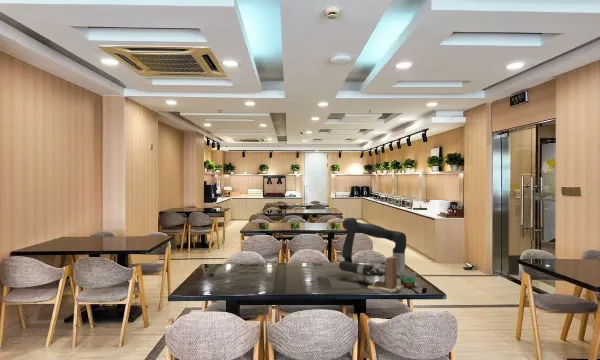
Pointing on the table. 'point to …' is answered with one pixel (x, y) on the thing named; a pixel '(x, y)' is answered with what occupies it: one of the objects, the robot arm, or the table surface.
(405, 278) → the food container
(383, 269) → the grey rectangular block
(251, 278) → the table surface
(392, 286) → the wooden backboard stand
